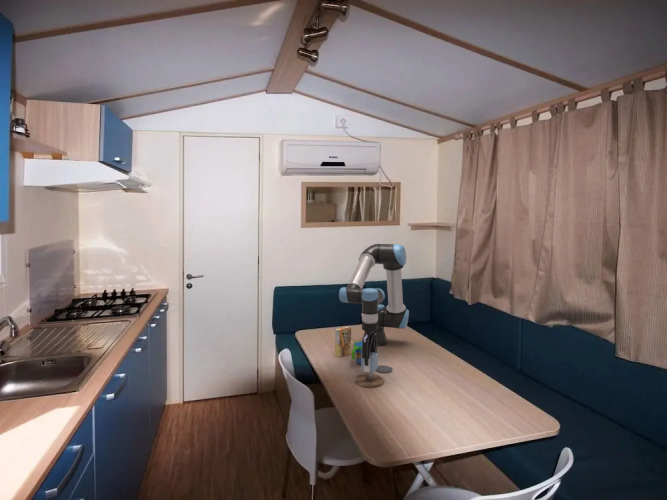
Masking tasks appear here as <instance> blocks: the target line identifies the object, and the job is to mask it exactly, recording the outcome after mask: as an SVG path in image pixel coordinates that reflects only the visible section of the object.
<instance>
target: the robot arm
mask: <svg viewBox="0 0 667 500" xmlns="http://www.w3.org/2000/svg"><path fill="white" fill-rule="evenodd" d="M406 264H407V251H406V248H405V246H404V245H403V244H398V243H397V244H396V243H392V244H391V243H390V244H389V243H374V244H372V245H370V246H368V247H366V248H365V249H364V250H363V251H362V252H361V253H360V255H359V257H358V264H357V266H356V267H355V270H354V272H353V274H352V276H351V278H350V280H349V282H348V284H347V286H345V287H344V286H343V287H341V288H340V289H339V290H338V291H339V293H338V298H339V301H340V302H342V303H347V304H360V305H361V314H360V315H361V330H362V331H364V333H363V336H362V337H361V341H362V342H363V344H362V358H364V370H363V372H365V373H366V372H370V358H369V355H370V351H371V352H374V353H378V347H379V346H384V345H386V344H387V342H388V341H387V340H388V339H387V337H386V336H387V335H386V332H385V328H390V329H391V328H392V329H404V330H405V329H406V328H407V326H408V323H409V315H410V311H409V309H407V308H406V305H405V304H404V301H403V299H404V298H403V297H404V296H403V282H402V281H403V279H402V269H403V268H404V266H405V265H406ZM375 265H382V266H383V269H384V270H385V274H386V275H385V276H386V288H387V299H388V302H387V306H386V307H385V305H384V304H382V303H383V301H384V300H385V292H384V290H383V289H381V288H379V287H378V288H377V287H376V288H373V287H372V288H371V287H369V288H363V287H364V286H365V283H366V280H368V279H367V278H368V276H369V274H370V272H371V269H372V268H373V267H375Z"/></svg>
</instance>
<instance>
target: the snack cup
mask: <svg viewBox="0 0 667 500" xmlns="http://www.w3.org/2000/svg"><path fill="white" fill-rule="evenodd" d="M362 344H363V342H362V340H360V341H356V342H354V343H353V348H352V349H351V359H352V360H356V363H357V364H358V365H359V364H360V365H361V355H362Z"/></svg>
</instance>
